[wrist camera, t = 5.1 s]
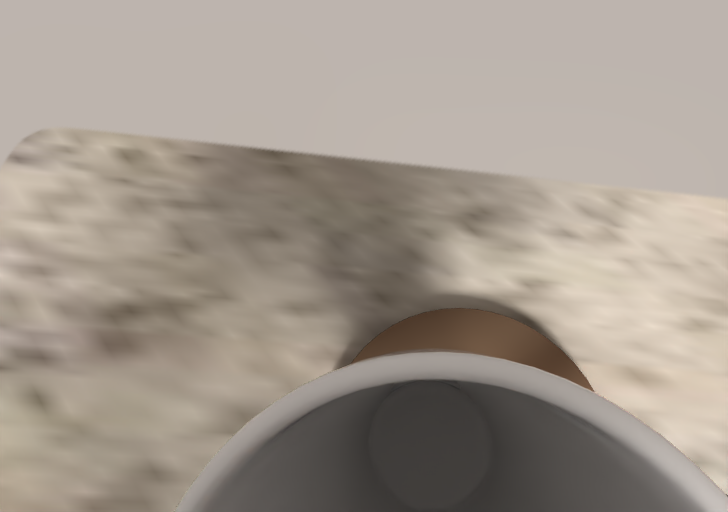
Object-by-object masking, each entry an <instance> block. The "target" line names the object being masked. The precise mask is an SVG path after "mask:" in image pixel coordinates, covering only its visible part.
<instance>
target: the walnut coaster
mask: <svg viewBox="0 0 728 512" xmlns="http://www.w3.org/2000/svg"><path fill="white" fill-rule="evenodd" d="M426 348H441V349H456V350H464V351H470V352H477V353H483V354H487V355H491V356H495V357H498V358H502V359H506V360H510V361H513V362H517V363H520V364H524V365H528V366H532V367H535V368H538V369H541V370H543V371H546V372H549V373H552V374H554V375H557V376H560V377H562V378H565V379H567V380H570V381H572V382H574V383H576V384H578V385H580V386H582V387H584V388H586V389H589V390H591V391H593V392H594V390H593V388H592V387H591V385H590V384H589V382H588V380H587V379H586V377H585V376H584V375H583V374H582V372H581V371H580V370H579V369H578V367H577V366H576V365H575V363H574V362H573V361H572V360H571V359H570V358H569V357H568V356H567V355H566V354H565V353H564V352H563V351H562V350H561V349H560V348H558V347H557V346H556V345H555V344H553V343H552V342H551V341H550V340H548V339H547V338H546V337H545V336H543V335H541V334H540V333H538V332H537V331H535V330H533V329H532V328H530V327H529V326H527V325H524V324H522V323H520V322H518V321H516V320H514V319H512V318H509V317H506V316H503V315H499V314H496V313H493V312H488V311H483V310H478V309H465V308H452V309H439V310H434V311H429V312H424V313H421V314H418V315H415V316H412V317H409V318H407V319H405V320H403V321H401V322H399V323H397V324H394V325H393V326H391V327H390V328H388V329H387V330H385V331H384V332H382V333H380V334H379V335H378V336H377V337H376V338H374V339H373V340H372V341H371V342H370V343H369V344H367V345H366V346H365V347H364V349H363V350H362V351H361V352H360V353H359V354H358V355H357V356H356V358H355V359H354V360H353V362H352V363H355V362H358V361H361V360H364V359H367V358H370V357H373V356H377V355H382V354H386V353H390V352H395V351H403V350H410V349H426ZM352 363H351V364H352Z"/></svg>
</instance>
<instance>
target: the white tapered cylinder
mask: <svg viewBox="0 0 728 512" xmlns="http://www.w3.org/2000/svg"><path fill="white" fill-rule="evenodd" d="M174 512H728V496H727V495H726V494H725V493H724V492H723V491H722V489H720V488H719V487H718V486H717V485H716V484H715V483H714V482H713V481H712V480H711V479H710V478H709V477H708V476H707V475H706V474H705V473H704V472H703V471H702V470H701V469H700V468H699V467H698V466H697V465H696V464H695V463H694V462H693V461H692V460H691V459H690V458H688V457H687V456H686V455H685V454H684V453H682V452H681V451H680V450H679V449H678V448H676V447H675V446H674V445H673V444H672V443H670V442H669V441H668V440H667V439H666V438H664V437H663V436H662V435H661V434H660V433H658V432H657V431H655V430H654V429H652V428H651V427H650V426H648V425H647V424H645V423H644V422H642V421H641V420H640V419H638V418H637V417H635V416H634V415H633V414H631V413H630V412H628V411H626V410H625V409H623V408H621V407H619V406H618V405H616V404H614V403H613V402H611V401H609V400H607V399H606V398H604V397H602V396H601V395H599V394H597V393H595V392H593V391H591V390H589V389H586V388H584V387H582V386H580V385H578V384H576V383H574V382H572V381H570V380H567V379H565V378H562V377H560V376H557V375H554V374H552V373H549V372H546V371H543V370H541V369H538V368H535V367H532V366H528V365H524V364H520V363H517V362H513V361H510V360H506V359H502V358H498V357H495V356H491V355H487V354H483V353H477V352H470V351H464V350H456V349H441V348H426V349H410V350H403V351H395V352H390V353H386V354H382V355H377V356H373V357H370V358H367V359H364V360H361V361H358V362H355V363H352V364H350V365H347V366H344V367H342V368H340V369H337V370H334V371H332V372H329V373H326V374H324V375H322V376H320V377H318V378H316V379H314V380H311V381H309V382H307V383H305V384H303V385H301V386H299V387H298V388H296V389H294V390H293V391H291V392H289V393H288V394H286V395H284V396H283V397H281V398H279V399H277V400H276V401H275V402H273V403H272V404H271V405H269V406H268V407H267V408H265V409H264V410H263V411H261V412H260V413H258V414H257V415H256V416H254V417H253V418H252V419H251V420H250V421H249V422H248V423H246V424H245V425H244V426H243V427H242V428H241V429H240V430H239V431H237V432H236V433H235V434H234V435H233V436H232V437H231V438H230V439H229V440H228V441H227V442H226V443H225V444H224V445H223V447H222V448H221V449H220V450H219V451H218V452H217V453H216V454H215V455H214V456H213V457H212V458H211V460H210V461H209V462H208V463H207V465H206V466H205V467H204V468H203V470H202V471H201V472H200V474H199V475H198V476H197V478H196V479H195V480H194V481H193V483H192V484H191V485H190V487H189V488H188V490H187V492H186V493H185V495H184V496H183V498H182V499H181V501H180V503H179V504H178V506H177V507H176V509H175V510H174Z"/></svg>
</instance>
